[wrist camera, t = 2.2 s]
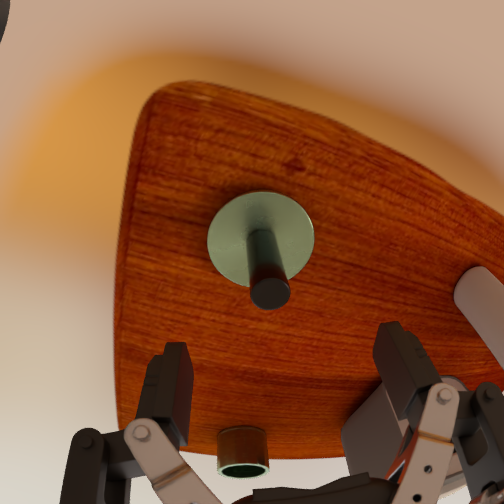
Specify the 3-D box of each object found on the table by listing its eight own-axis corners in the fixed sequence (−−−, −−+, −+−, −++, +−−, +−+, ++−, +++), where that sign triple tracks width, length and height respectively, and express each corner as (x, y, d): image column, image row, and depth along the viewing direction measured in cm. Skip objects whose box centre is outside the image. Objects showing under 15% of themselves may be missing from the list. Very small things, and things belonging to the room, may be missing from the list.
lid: (214, 282, 23) (210, 348, 17) (202, 191, 19) (188, 237, 13) (309, 275, 23) (332, 337, 17) (311, 183, 19) (344, 225, 14)
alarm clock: (460, 375, 33) (504, 461, 19) (414, 421, 38) (443, 501, 24) (376, 373, 30) (421, 498, 16) (328, 426, 35) (351, 530, 21)
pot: (221, 446, 36) (221, 479, 31) (214, 426, 33) (213, 464, 28) (266, 443, 36) (269, 477, 31) (265, 423, 33) (269, 461, 28)
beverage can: (446, 308, 26) (507, 397, 15) (457, 267, 23) (534, 357, 13) (478, 298, 26) (539, 376, 15) (490, 259, 23) (564, 337, 13)
